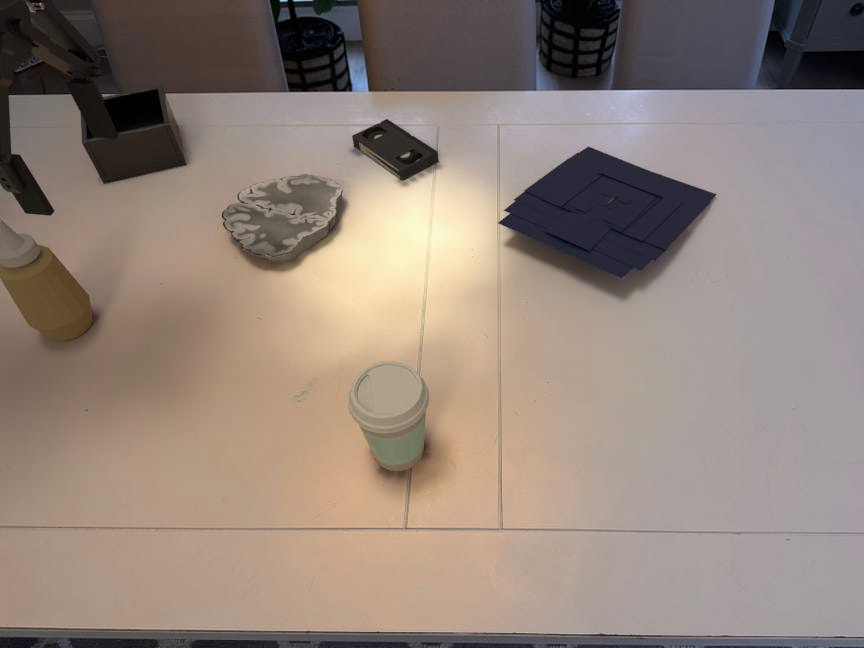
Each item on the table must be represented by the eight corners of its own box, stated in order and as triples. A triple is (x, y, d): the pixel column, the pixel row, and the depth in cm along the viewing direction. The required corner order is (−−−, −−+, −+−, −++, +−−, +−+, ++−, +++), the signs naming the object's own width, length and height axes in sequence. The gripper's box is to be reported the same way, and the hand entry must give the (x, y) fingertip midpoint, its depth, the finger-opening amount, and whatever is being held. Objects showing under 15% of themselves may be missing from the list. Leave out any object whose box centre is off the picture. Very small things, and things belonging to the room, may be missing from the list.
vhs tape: (352, 145, 119) (350, 135, 118) (388, 128, 122) (386, 118, 121) (402, 180, 112) (401, 170, 111) (438, 161, 116) (437, 151, 114)
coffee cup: (382, 411, 82) (368, 347, 73) (446, 432, 80) (440, 369, 71) (349, 468, 77) (329, 407, 68) (416, 492, 75) (406, 433, 66)
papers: (485, 233, 101) (487, 213, 99) (584, 160, 119) (587, 141, 117) (630, 300, 92) (635, 279, 89) (713, 209, 110) (720, 189, 107)
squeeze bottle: (114, 319, 93) (47, 215, 79) (62, 357, 89) (-18, 253, 75) (78, 296, 96) (8, 192, 82) (26, 332, 92) (-57, 228, 78)
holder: (103, 183, 113) (81, 142, 107) (100, 142, 121) (79, 101, 115) (186, 165, 116) (169, 124, 110) (177, 125, 124) (161, 85, 118)
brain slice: (269, 180, 113) (264, 165, 111) (360, 200, 109) (357, 184, 107) (201, 254, 101) (195, 239, 99) (301, 279, 97) (296, 264, 95)
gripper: (-111, 23, 47) (44, 253, 63) (73, -98, 63) (159, 111, 79) (-207, 17, 48) (-29, 246, 64) (-1, -101, 63) (99, 107, 80)
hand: (75, 172), depth 72 cm, fingers open, 13 cm apart
